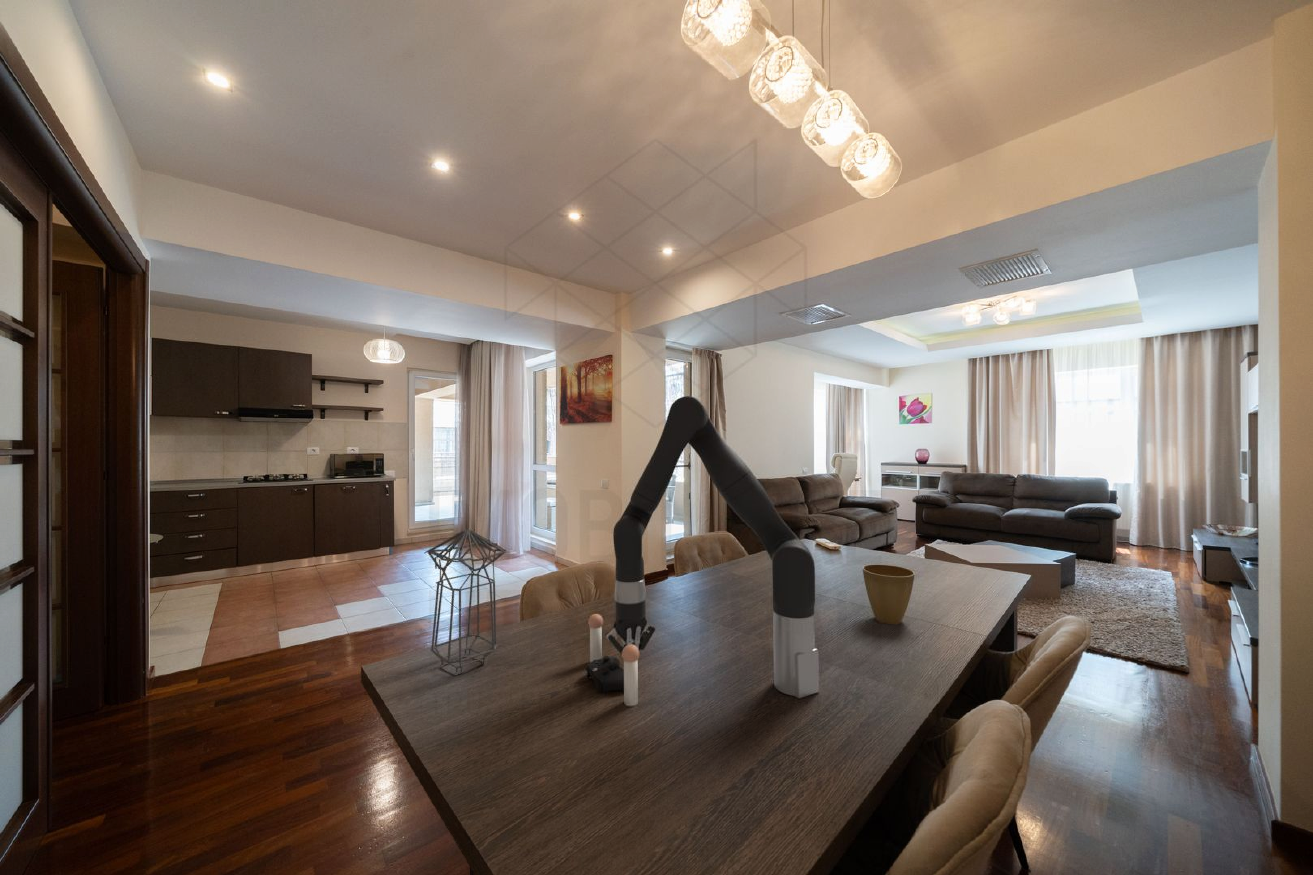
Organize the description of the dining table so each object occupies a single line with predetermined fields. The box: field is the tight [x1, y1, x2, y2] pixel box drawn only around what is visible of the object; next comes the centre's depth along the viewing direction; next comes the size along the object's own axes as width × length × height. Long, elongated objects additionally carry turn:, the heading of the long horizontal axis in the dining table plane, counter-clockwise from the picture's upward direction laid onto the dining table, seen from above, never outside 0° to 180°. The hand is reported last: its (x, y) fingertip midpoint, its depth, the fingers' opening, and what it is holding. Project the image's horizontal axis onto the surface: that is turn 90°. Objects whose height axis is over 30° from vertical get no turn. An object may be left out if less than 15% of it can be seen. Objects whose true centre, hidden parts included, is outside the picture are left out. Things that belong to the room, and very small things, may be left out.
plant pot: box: [862, 563, 916, 625], centre depth 151 cm, size 15×15×16 cm
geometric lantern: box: [424, 529, 508, 673], centre depth 122 cm, size 16×16×35 cm
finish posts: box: [588, 613, 640, 707], centre depth 114 cm, size 26×4×12 cm, turn 27°
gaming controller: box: [585, 655, 624, 694], centre depth 114 cm, size 14×6×10 cm
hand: (631, 668), depth 116 cm, fingers closed
